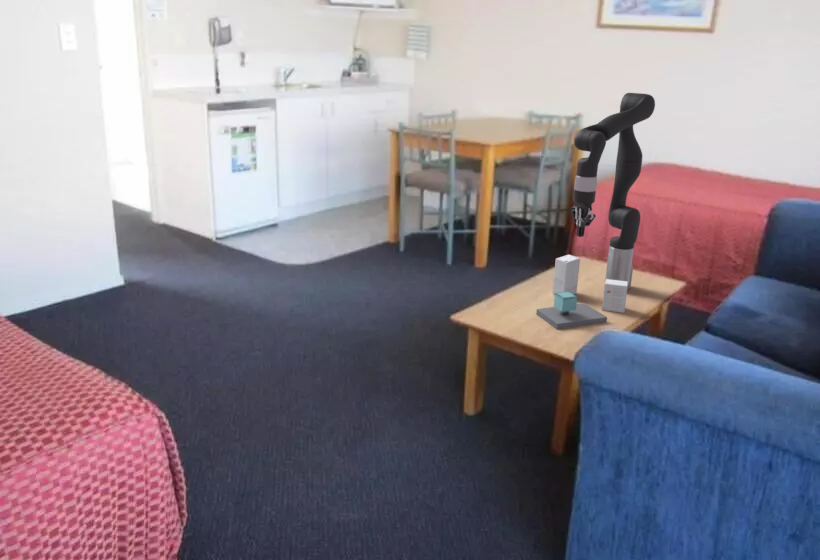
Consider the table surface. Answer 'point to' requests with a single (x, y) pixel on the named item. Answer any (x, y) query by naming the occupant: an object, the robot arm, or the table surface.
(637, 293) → the table surface
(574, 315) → the board
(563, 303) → the teal cube
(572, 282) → the skincare box
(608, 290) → the small box
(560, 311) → the post
